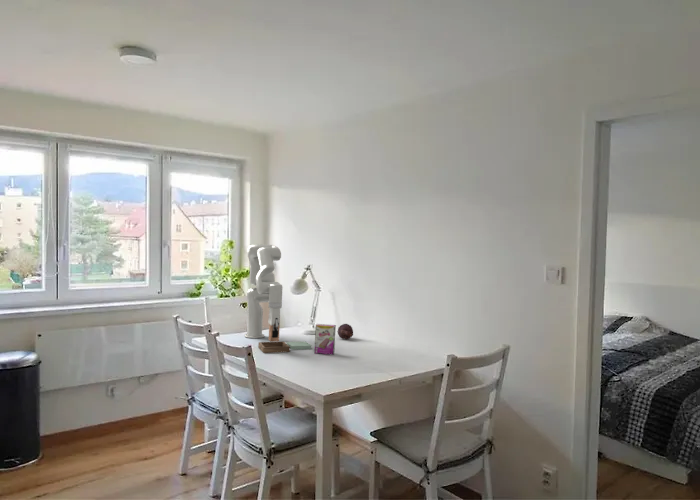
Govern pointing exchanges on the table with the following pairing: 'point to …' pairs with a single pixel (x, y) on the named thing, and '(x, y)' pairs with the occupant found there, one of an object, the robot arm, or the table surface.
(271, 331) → the wooden block
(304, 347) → the green board
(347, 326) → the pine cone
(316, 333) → the candy bar box
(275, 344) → the brown wooden tray
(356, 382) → the table surface
